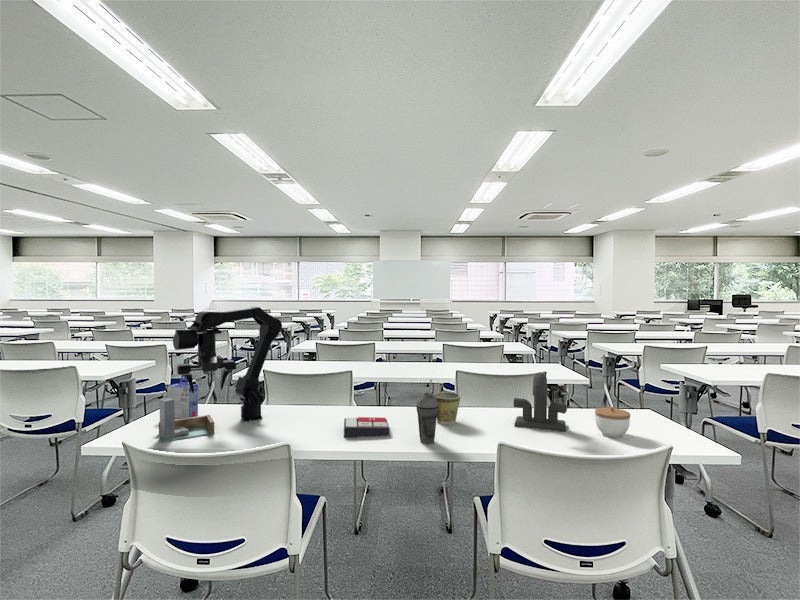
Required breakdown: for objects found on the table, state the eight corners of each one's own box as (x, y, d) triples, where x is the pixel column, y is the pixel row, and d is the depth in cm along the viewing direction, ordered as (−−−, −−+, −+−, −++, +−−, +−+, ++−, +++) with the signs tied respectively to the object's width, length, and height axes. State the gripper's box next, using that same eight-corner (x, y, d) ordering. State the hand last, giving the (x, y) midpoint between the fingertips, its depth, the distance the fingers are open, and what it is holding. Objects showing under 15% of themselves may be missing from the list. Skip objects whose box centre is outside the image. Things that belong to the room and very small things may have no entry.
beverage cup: (414, 438, 143) (414, 377, 143) (436, 437, 144) (436, 377, 144) (417, 446, 136) (417, 382, 136) (440, 445, 137) (440, 381, 136)
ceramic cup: (457, 427, 154) (457, 399, 154) (429, 424, 157) (430, 397, 157) (463, 417, 167) (463, 391, 166) (438, 415, 170) (438, 389, 169)
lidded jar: (588, 429, 152) (589, 403, 152) (618, 429, 153) (618, 402, 152) (605, 440, 141) (605, 411, 141) (636, 439, 142) (637, 411, 142)
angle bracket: (165, 440, 140) (164, 401, 140) (160, 437, 143) (159, 399, 143) (188, 434, 146) (188, 397, 146) (183, 431, 149) (183, 395, 148)
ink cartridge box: (199, 415, 170) (198, 378, 169) (189, 419, 164) (189, 381, 164) (176, 413, 172) (176, 377, 171) (166, 417, 166) (166, 380, 166)
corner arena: (209, 425, 156) (209, 414, 156) (214, 433, 148) (214, 422, 148) (158, 433, 148) (158, 422, 148) (160, 442, 139) (160, 430, 139)
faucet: (510, 432, 149) (510, 374, 148) (514, 419, 164) (515, 366, 163) (567, 439, 143) (567, 378, 142) (566, 425, 157) (567, 369, 157)
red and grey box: (389, 426, 146) (344, 425, 144) (389, 438, 146) (343, 438, 144) (386, 416, 156) (344, 415, 155) (386, 428, 157) (343, 427, 155)
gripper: (179, 351, 141) (179, 399, 142) (239, 347, 151) (239, 392, 152) (176, 348, 151) (176, 392, 151) (233, 344, 161) (233, 386, 161)
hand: (207, 391), depth 154 cm, fingers open, 9 cm apart
